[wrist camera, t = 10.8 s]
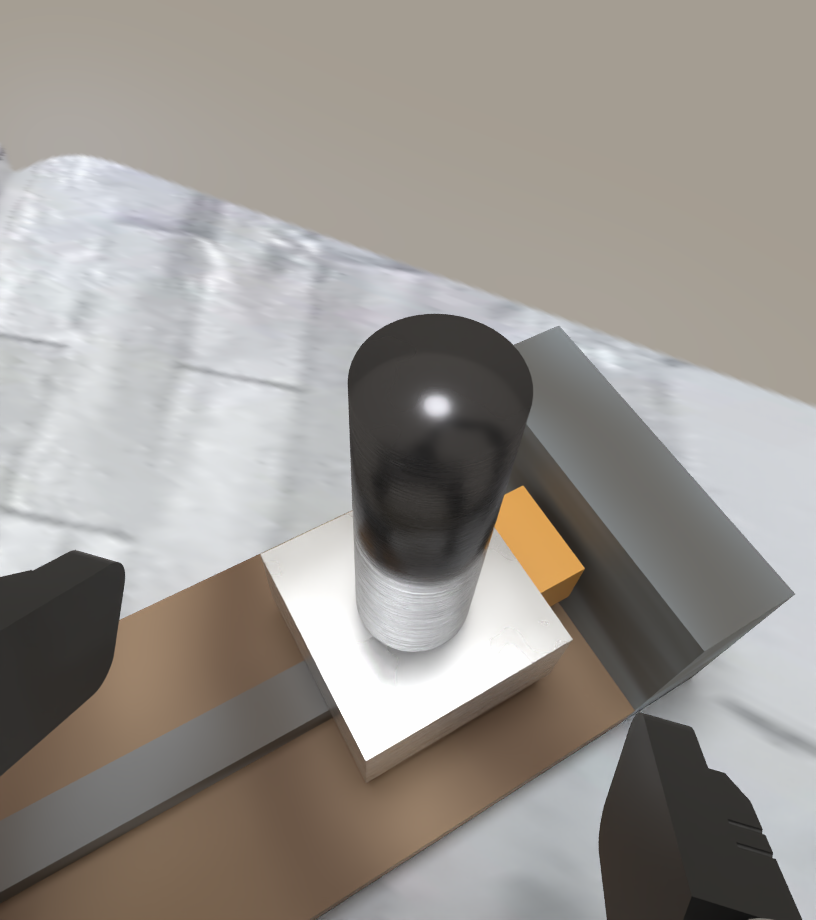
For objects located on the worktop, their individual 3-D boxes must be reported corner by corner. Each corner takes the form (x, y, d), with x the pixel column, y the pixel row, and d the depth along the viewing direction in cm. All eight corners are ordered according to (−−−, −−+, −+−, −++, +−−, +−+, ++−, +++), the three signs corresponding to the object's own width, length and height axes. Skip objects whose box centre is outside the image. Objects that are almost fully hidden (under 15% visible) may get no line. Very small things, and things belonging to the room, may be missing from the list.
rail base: (520, 439, 29) (559, 313, 23) (699, 672, 25) (803, 588, 19) (-162, 764, 22) (-356, 700, 16) (-90, 1179, 17) (-325, 1303, 12)
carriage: (442, 513, 25) (493, 214, 14) (549, 673, 22) (704, 446, 12) (272, 597, 23) (195, 323, 13) (366, 783, 20) (364, 625, 10)
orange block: (512, 517, 24) (523, 485, 22) (568, 596, 22) (584, 568, 21) (469, 539, 23) (477, 508, 22) (524, 621, 22) (537, 595, 20)
